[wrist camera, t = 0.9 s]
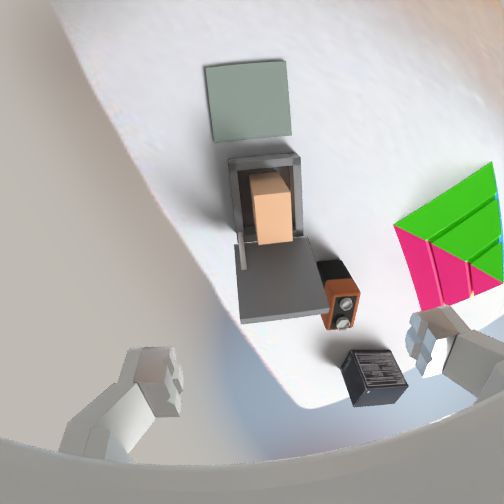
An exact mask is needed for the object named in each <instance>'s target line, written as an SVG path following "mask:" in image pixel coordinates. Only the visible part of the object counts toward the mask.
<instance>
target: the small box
mask: <svg viewBox="0 0 504 504" xmlns="http://www.w3.org/2000/svg"><path fill="white" fill-rule="evenodd" d="M340 370H341V372H342V375H343V378H344V381H345V384H346V387H347V390H348V393H349V396H350V399H351V401H352V404H353V407H363V406H375V405H385V404H394V403H395V402H396V401H397V400H398V399H399V397H400V396H401V395H402V394H403V393H404V391H405V390H406V389H407V388H408V384H407V382H406V381H405V379H404V377H403V375H402V373H401V370H400V368H399V366H398V364H397V363H396V360H395V359H394V356H393V354H392V352H391V351H369V350H368V351H367V350H351V351H350V353H349V355H348V357H347V358H346V360H345V362H344V364H343V365H342V367H341V369H340Z"/></svg>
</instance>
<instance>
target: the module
mask: <svg viewBox="0 0 504 504" xmlns="http://www.w3.org/2000/svg"><path fill="white" fill-rule="evenodd" d="M249 181H250V191H251V201H252V212H253V219H254V224H255V229H256V234H257V239H258V245H263V244H271V243H280V242H289V241H293V235H292V212H291V192H290V190H289V189H288V187H287V185H286V184H285V182H284V180H283V179H282V177H281V175H280V174H279V172H272V173H262V174H252V175H249Z"/></svg>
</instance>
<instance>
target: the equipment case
mask: <svg viewBox="0 0 504 504" xmlns="http://www.w3.org/2000/svg"><path fill="white" fill-rule="evenodd" d="M281 166H289V173H290V191H291V212H292V235H293V237H295V238H293V241H289V242H280V243H271V244H263V245H258V242H254V241H258V239H257V234H256V229H255V226H246V227H243V219H242V210H241V201H240V192H239V183H238V174H237V171H240V170H249V169H259V168H269V167H281ZM228 167H229V175H230V184H231V192H232V200H233V208H234V217H235V225H236V233H237V241H238V243H239V244H234V249H235V262H236V275H237V287H238V300H239V312H240V321H241V324H249V323H257V322H266V321H274V320H282V319H289V318H297V317H304V316H311V315H318V314H324V313H329V309H330V307H329V304H328V300H327V297H326V294H325V290H324V287H323V284H322V281H321V277H320V274H319V271H318V268H317V265H316V262H315V259H314V255H313V252H312V249H311V246H310V243H309V240H308V237H307V236H304V237H299V236H303V207H302V180H301V158H300V156H299V155H298V154H297V153H285V154H273V155H262V156H252V157H243V158H234V159H228ZM245 242H251V243H245Z"/></svg>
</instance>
